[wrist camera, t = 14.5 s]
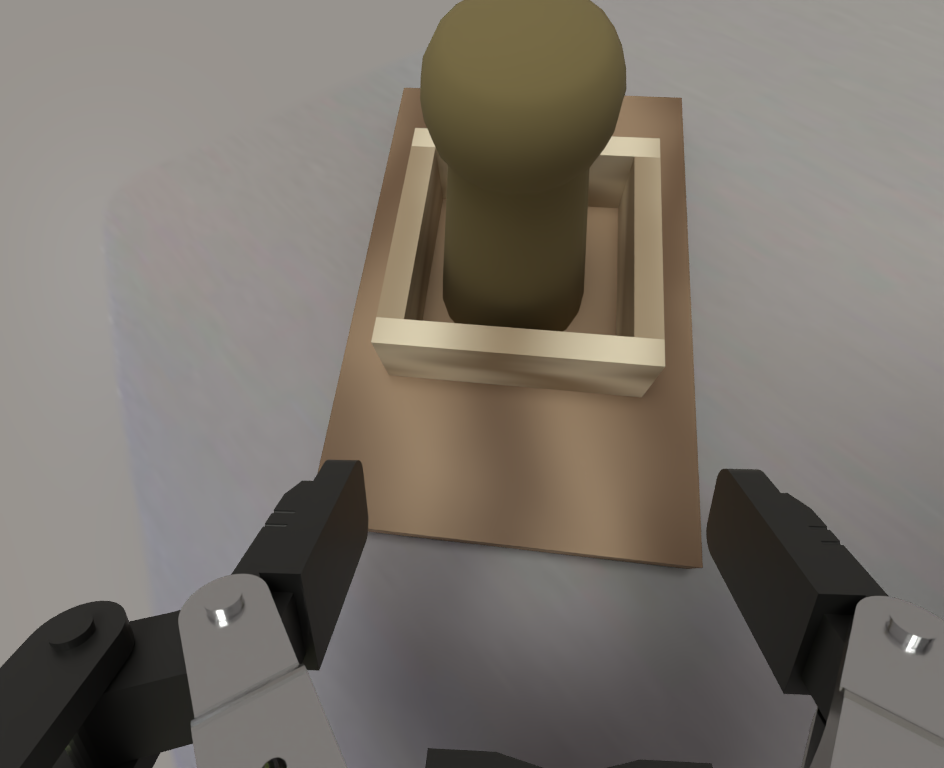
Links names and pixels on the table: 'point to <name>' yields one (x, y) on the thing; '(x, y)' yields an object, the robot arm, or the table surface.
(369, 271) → the collar board
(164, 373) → the table surface
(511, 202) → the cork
